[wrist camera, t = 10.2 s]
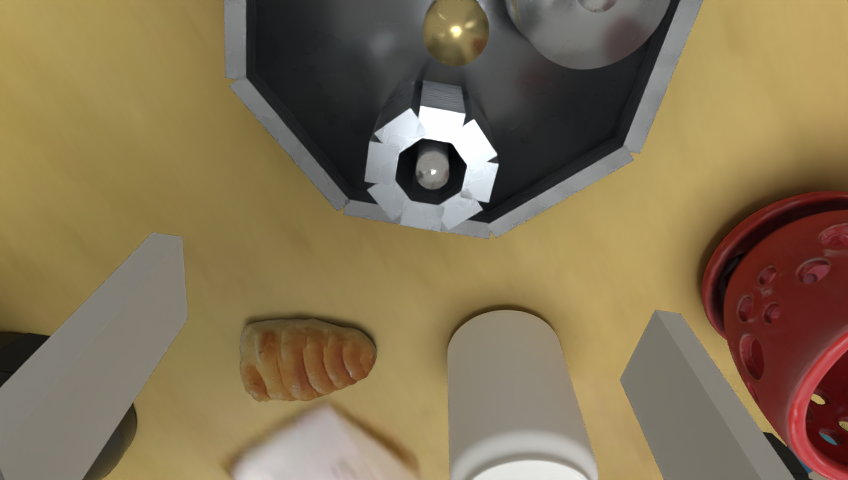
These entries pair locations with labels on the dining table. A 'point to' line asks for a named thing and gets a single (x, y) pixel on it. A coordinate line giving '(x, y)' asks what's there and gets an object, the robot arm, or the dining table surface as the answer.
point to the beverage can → (513, 403)
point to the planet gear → (396, 171)
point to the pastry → (302, 358)
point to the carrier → (471, 70)
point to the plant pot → (790, 319)
